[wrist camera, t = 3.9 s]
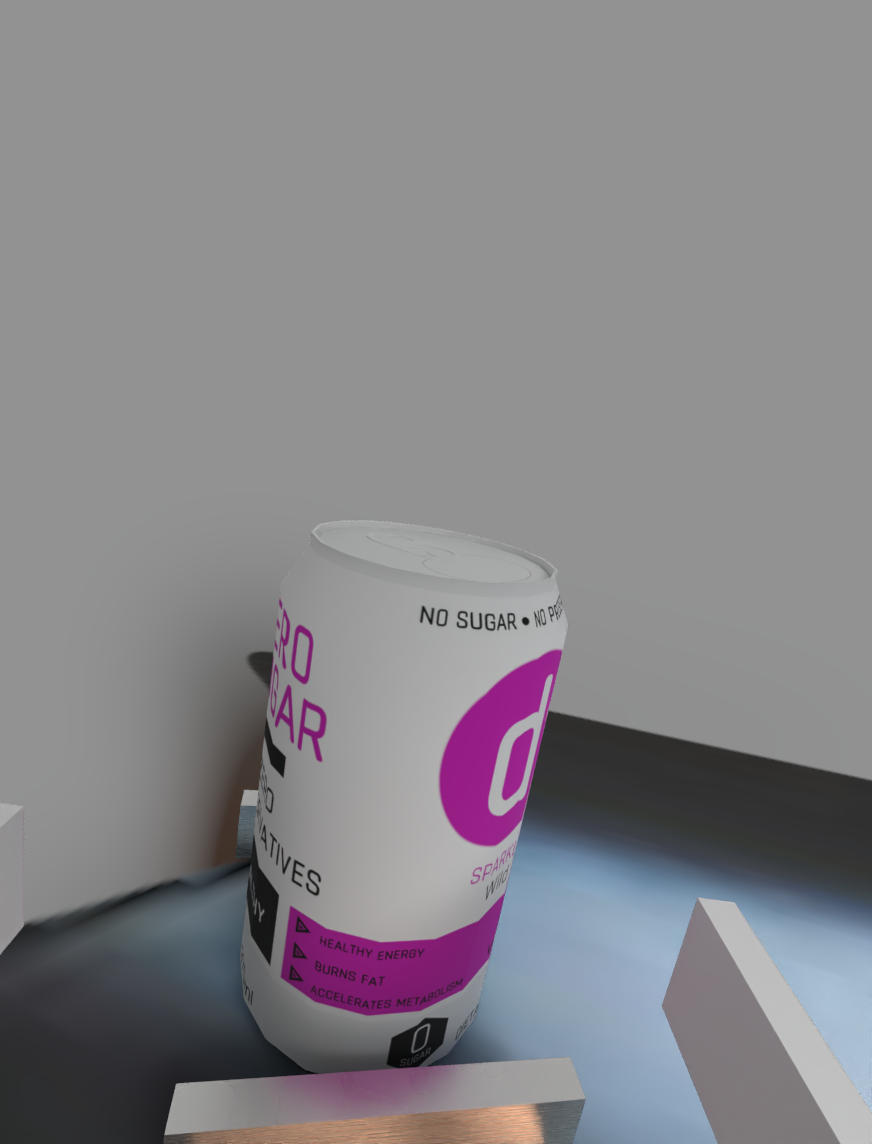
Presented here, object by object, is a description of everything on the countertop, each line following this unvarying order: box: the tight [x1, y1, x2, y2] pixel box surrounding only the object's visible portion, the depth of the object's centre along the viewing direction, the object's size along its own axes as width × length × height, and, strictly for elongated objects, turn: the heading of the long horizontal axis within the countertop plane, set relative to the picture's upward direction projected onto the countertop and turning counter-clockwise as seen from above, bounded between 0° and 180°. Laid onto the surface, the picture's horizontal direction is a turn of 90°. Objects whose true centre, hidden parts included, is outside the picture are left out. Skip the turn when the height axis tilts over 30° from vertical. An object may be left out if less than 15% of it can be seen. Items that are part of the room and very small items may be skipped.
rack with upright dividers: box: [164, 790, 586, 1144], centre depth 14 cm, size 10×23×2 cm, turn 10°
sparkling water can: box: [240, 520, 568, 1074], centre depth 18 cm, size 8×8×15 cm
